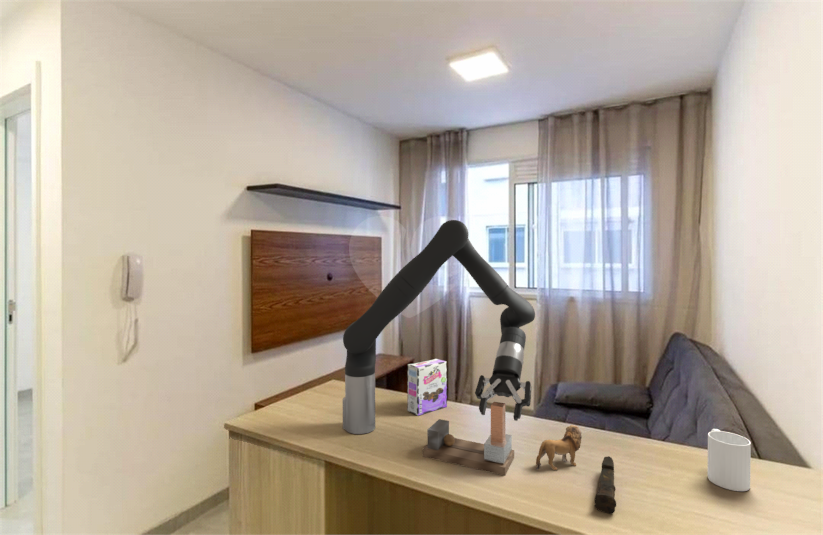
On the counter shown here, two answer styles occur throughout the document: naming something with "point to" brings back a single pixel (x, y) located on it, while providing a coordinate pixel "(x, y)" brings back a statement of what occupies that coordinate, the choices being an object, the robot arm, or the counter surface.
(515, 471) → the counter surface
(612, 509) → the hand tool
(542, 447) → the lion figurine
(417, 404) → the candy box
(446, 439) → the hazelnut
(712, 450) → the mug
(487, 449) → the block
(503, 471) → the press base
